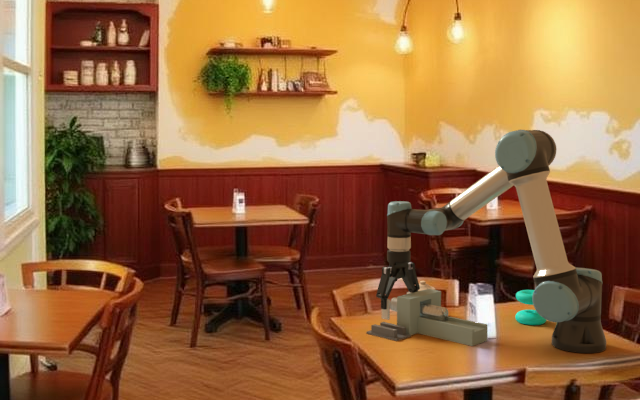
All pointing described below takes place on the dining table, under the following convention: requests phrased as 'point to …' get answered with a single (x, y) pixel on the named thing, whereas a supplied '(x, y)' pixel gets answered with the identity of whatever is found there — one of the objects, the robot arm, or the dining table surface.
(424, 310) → the dowel
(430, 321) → the shelf
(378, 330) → the cradle
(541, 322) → the donuts
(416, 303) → the grey-green rectangular arch
